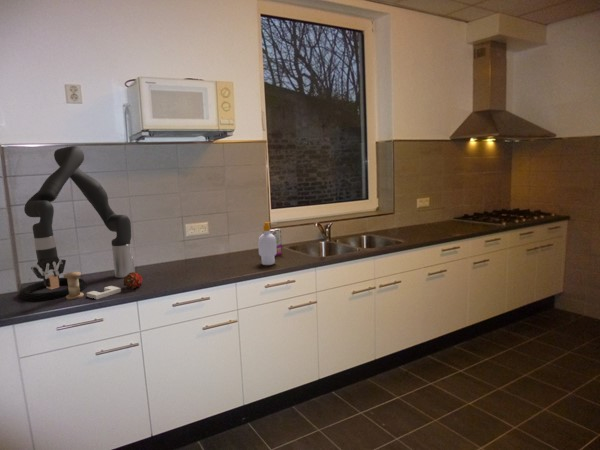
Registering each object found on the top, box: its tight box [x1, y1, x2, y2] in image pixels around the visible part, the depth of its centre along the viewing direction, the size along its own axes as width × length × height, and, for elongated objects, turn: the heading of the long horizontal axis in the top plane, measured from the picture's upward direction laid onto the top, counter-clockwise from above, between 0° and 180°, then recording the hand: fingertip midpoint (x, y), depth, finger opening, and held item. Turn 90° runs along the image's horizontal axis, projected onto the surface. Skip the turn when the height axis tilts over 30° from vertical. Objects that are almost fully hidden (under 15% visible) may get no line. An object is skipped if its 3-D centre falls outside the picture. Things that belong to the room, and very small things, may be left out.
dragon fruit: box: [122, 271, 144, 290], centre depth 196 cm, size 8×8×12 cm
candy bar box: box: [262, 228, 283, 257], centre depth 252 cm, size 11×5×16 cm, turn 132°
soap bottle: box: [257, 221, 277, 266], centre depth 231 cm, size 10×10×24 cm
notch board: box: [86, 285, 122, 300], centre depth 187 cm, size 12×8×2 cm, turn 147°
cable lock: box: [18, 277, 87, 302], centre depth 195 cm, size 28×4×30 cm
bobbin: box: [63, 271, 85, 301], centre depth 184 cm, size 7×7×11 cm
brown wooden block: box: [45, 274, 60, 290], centre depth 175 cm, size 3×4×5 cm
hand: (52, 285), depth 175 cm, fingers closed on brown wooden block, 3 cm apart
